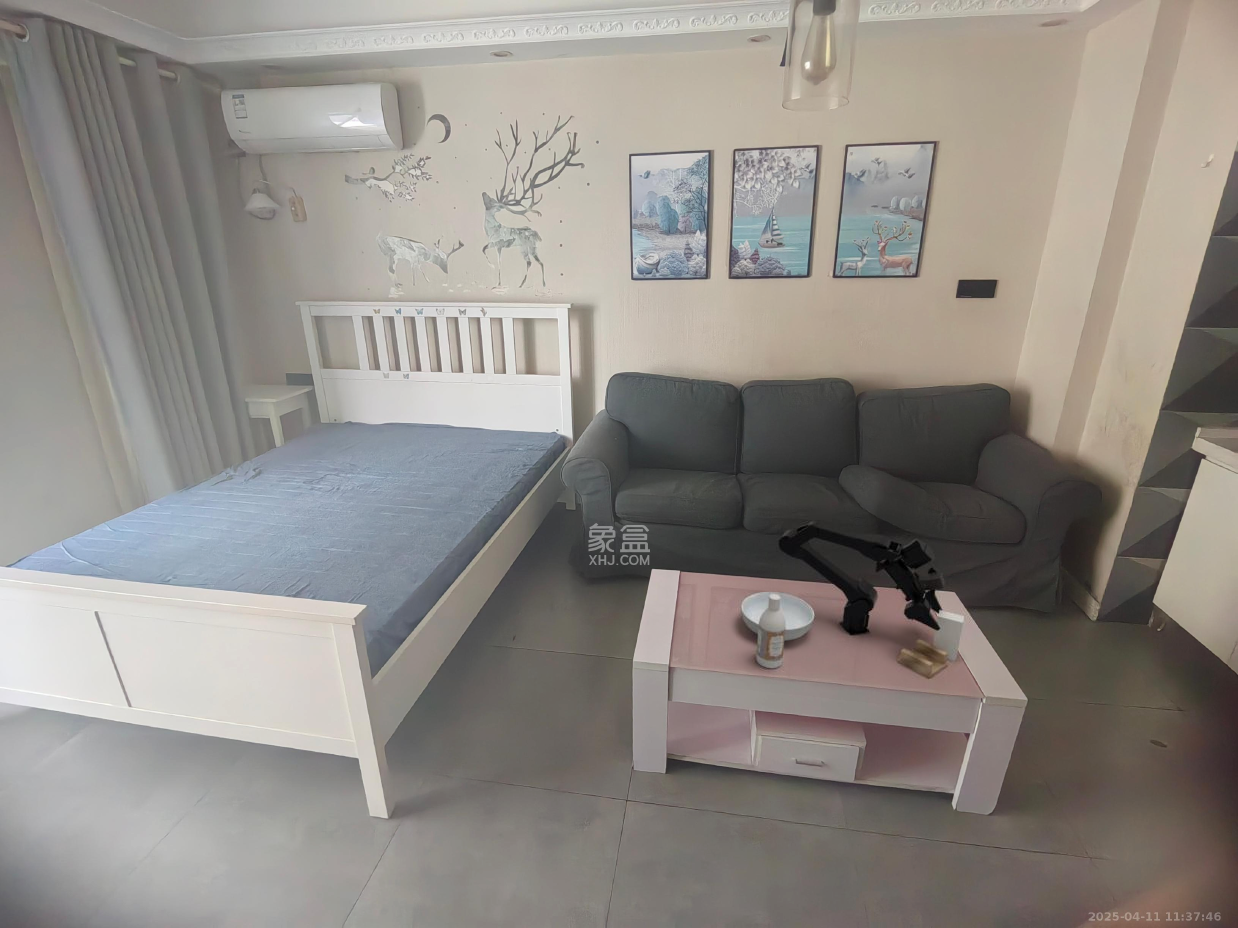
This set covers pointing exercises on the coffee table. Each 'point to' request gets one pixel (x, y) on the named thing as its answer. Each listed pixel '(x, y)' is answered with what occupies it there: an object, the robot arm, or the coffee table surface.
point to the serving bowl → (791, 607)
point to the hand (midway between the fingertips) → (940, 621)
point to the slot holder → (924, 659)
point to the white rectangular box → (948, 633)
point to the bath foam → (771, 635)
